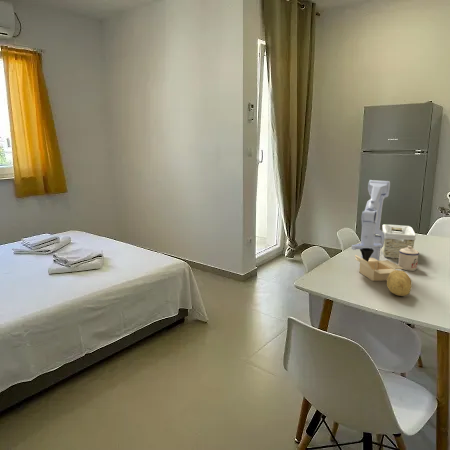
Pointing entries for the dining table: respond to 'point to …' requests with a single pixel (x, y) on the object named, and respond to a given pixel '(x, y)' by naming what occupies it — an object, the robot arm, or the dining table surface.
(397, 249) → the storage basket
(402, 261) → the teacup with lid
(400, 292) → the potato
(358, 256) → the flap
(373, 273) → the carton
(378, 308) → the dining table surface
